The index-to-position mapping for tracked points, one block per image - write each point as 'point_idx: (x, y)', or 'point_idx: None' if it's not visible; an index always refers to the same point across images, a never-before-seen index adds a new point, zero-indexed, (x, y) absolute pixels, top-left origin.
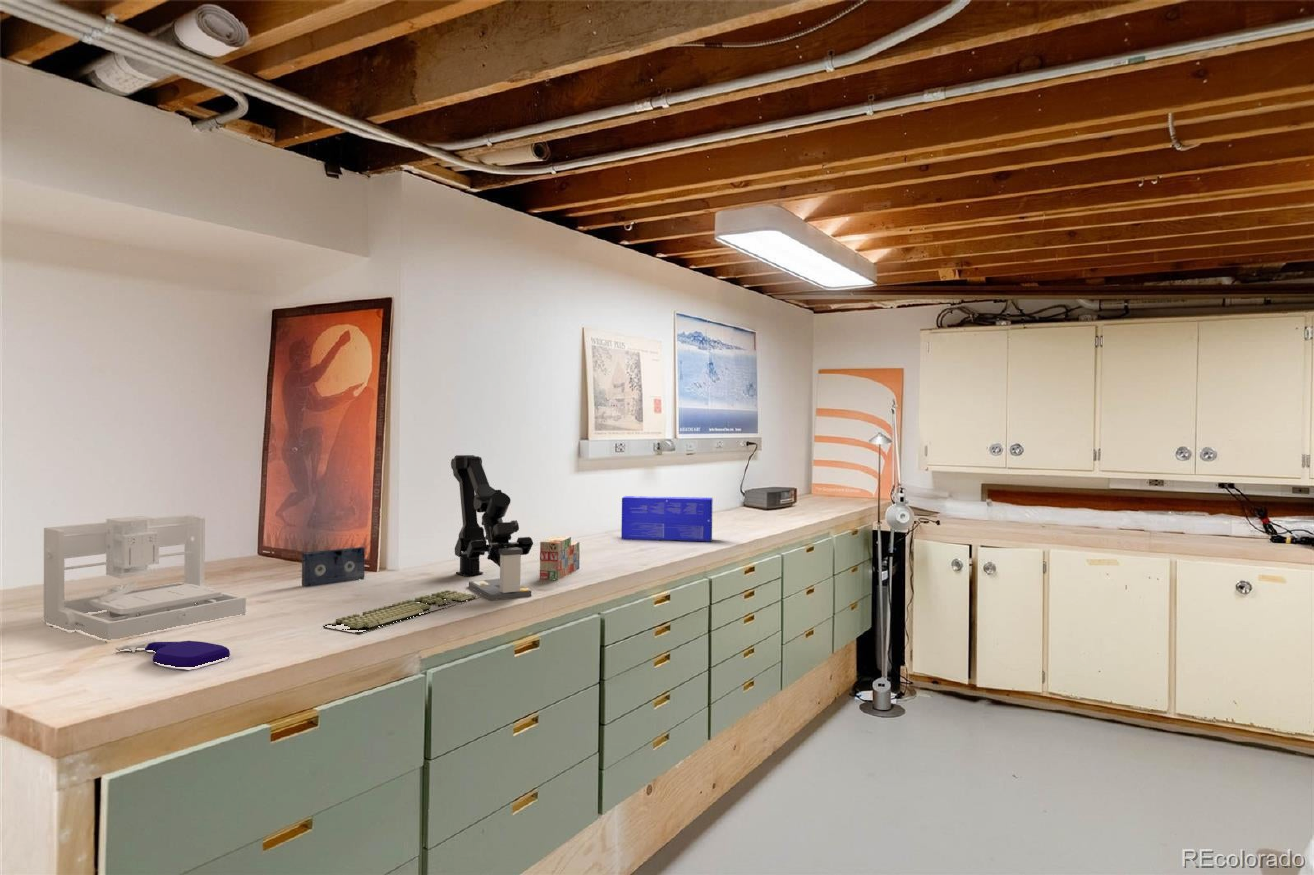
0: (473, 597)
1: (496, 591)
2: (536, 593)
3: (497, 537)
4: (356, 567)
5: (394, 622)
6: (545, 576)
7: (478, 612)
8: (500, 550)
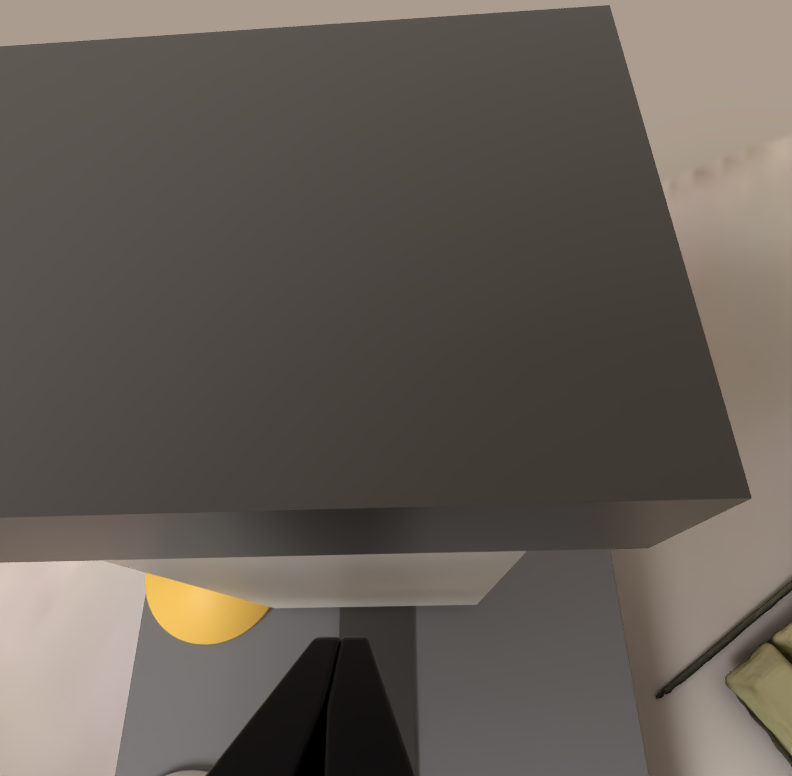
0: (766, 643)
1: (506, 639)
2: (77, 610)
3: None
4: None
5: None
6: None
7: (738, 199)
8: (657, 261)
